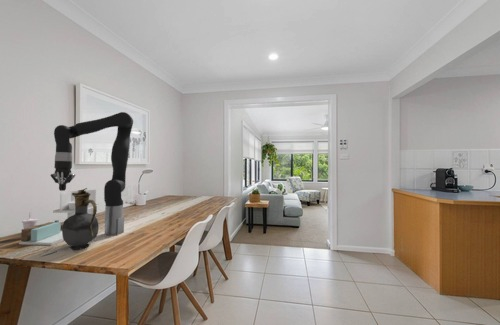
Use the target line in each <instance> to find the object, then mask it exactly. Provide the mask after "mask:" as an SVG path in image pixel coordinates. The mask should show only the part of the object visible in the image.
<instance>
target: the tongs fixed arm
mask: <svg viewBox="0 0 500 325" xmlns="http://www.w3.org/2000/svg"><path fill="white" fill-rule="evenodd" d="M52 223H55V221H54V222H53V221H51V222H45V223H41V224H38V225H37V224H36V226H33V227H29V228H26V229H24V228H23V229H21V234H20V238H21V239H20V242H21V241H29V240H31V230H32V229H35V228H38V227H42V226H45V225H48V224H52Z"/></svg>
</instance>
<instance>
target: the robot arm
mask: <svg viewBox="0 0 500 325" xmlns="http://www.w3.org/2000/svg"><path fill="white" fill-rule="evenodd" d="M133 124H134V119H133V117H132V116H131V115H130V114H129V113H128V112H126V111H123V112H122V111H121V112H118V113H115V114H112V115H108V116H105V117H103V118H98V119H94V120H93V119H92V120H88V121H87V120H86V121H82V122H79V123H75V125H70V126H67V125H63V124H60V125H57V126H56V127H55V128H54V132H53V135H54V141H55V154H54V166H53V167H54V169H55V170H54V172H53V173H51V174H50V177H51V178H52V180H53V182H54V183H55V184H58V190H59V191H61V192H62V191H65V190H66V189H67V185H68V184H69V183H71V181H73V179H74V178H75V177H76V174H73V173H72V170H71V169H72V168H73V153H72V151H73V146H72V143H71V141H70V140H71V139H74V138H78V137H80V136H83V135H89V134H92V133H97V132H99V131H102V130H105V129H108V128H114V127H116V128H117V133H116V137H115V140H114V142H113V144H112V148H111V153H110V160H111V166H112V178H111V179H110V180H108V181H107V182H106V183H105V184H104V188H103V190H104V192H103V196H104V198H103V200H104V203H105V205H104V206H105V210H104V212H105V213H104V235H105V236H117V235H120V234H122V233H124V232H125V216H124V215H123V214H124V200H123V198H122V193H123V192H124V191H125V189H126V174H127V173H126V172H127V167H128V160H129V154H130V143H131V140H130V139H131V133H132V129H133V126H134V125H133ZM65 192H66V191H65Z"/></svg>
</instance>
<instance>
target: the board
mask: <svg viewBox="0 0 500 325" xmlns="http://www.w3.org/2000/svg"><path fill="white" fill-rule="evenodd" d="M63 241H64V240H63V235H62V230H60V233H58V234H55V235H52V236H50V237H47V238H44V239H41V240H39V241H31V240H29V241H21V240H20V241H19V245H29V246H31V245H32V246H33V245H34V246H35V245H36V246H39V245H40V246H53V245H56V244H58V243H61V242H63ZM64 242H65V241H64Z"/></svg>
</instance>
